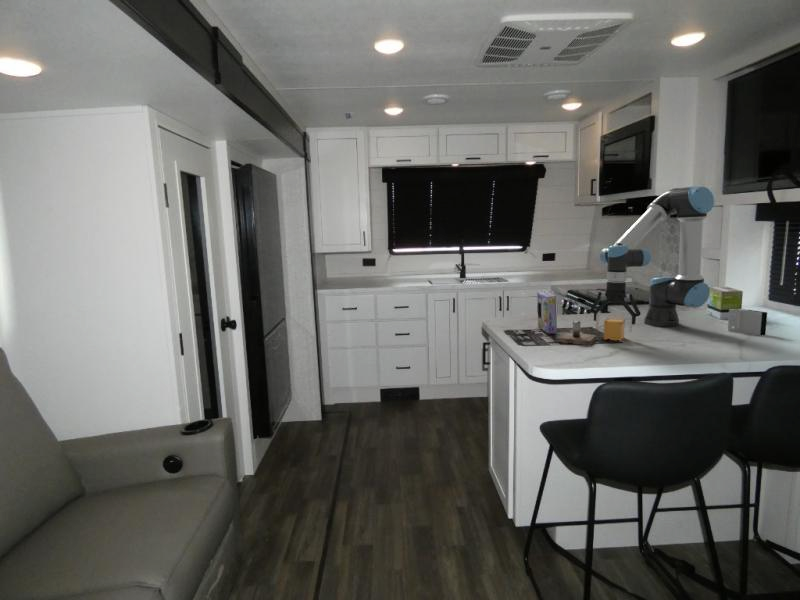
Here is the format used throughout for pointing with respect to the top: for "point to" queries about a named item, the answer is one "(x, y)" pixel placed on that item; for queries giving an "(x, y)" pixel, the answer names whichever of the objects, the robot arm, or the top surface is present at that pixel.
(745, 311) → the gray black rectangular block
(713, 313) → the tea box
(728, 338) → the top surface
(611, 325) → the orange cube block
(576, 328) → the post
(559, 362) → the top surface
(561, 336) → the base plate
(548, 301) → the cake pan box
